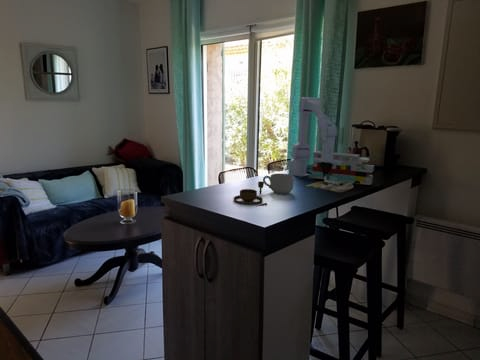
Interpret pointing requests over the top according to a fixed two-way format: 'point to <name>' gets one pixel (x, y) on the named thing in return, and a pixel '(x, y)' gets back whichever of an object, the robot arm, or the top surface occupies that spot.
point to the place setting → (250, 196)
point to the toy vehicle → (346, 168)
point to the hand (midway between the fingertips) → (325, 177)
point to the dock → (332, 186)
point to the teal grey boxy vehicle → (333, 179)
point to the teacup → (280, 183)
